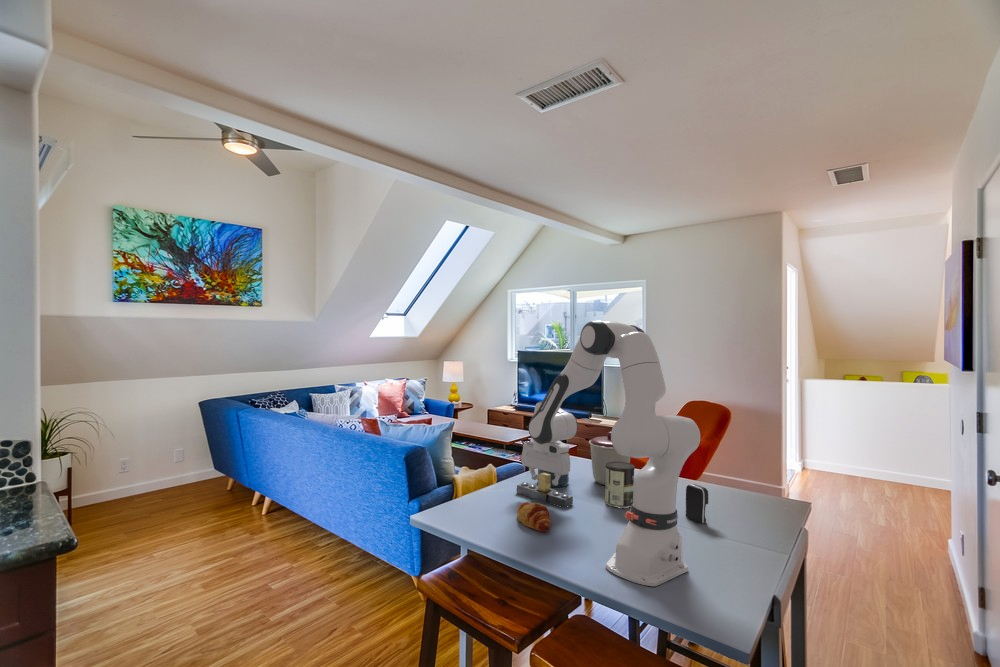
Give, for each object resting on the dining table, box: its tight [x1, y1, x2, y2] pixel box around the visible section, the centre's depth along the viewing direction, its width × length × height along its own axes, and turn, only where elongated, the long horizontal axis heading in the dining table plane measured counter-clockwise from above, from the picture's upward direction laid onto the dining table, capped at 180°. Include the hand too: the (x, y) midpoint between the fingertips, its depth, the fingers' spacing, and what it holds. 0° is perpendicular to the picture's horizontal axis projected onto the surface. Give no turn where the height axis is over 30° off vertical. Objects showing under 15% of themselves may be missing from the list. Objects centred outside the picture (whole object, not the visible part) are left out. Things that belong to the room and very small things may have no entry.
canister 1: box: [537, 454, 571, 488], centre depth 195 cm, size 13×13×18 cm
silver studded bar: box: [516, 481, 574, 509], centre depth 176 cm, size 7×22×4 cm, turn 48°
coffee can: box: [604, 461, 636, 509], centre depth 173 cm, size 10×10×14 cm
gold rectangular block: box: [537, 473, 551, 493], centre depth 176 cm, size 3×3×9 cm
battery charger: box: [685, 483, 709, 524], centre depth 159 cm, size 7×4×11 cm, turn 26°
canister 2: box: [588, 431, 631, 486], centre depth 198 cm, size 18×18×21 cm
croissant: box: [516, 502, 552, 533], centre depth 154 cm, size 21×10×8 cm, turn 20°
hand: (544, 482), depth 176 cm, fingers open, 8 cm apart
